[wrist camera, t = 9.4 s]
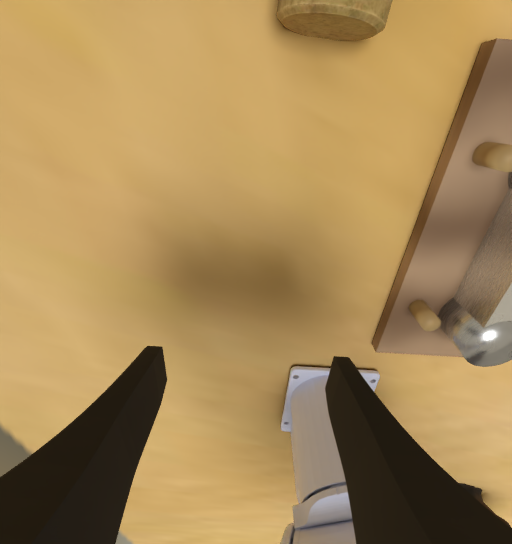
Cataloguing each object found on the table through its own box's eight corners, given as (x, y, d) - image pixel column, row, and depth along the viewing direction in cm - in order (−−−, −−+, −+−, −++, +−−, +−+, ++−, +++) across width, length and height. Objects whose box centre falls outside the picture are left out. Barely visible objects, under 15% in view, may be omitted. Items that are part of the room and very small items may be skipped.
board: (499, 350, 24) (528, 379, 21) (371, 343, 24) (385, 372, 21) (699, 59, 14) (800, 48, 11) (482, 43, 14) (533, 27, 11)
